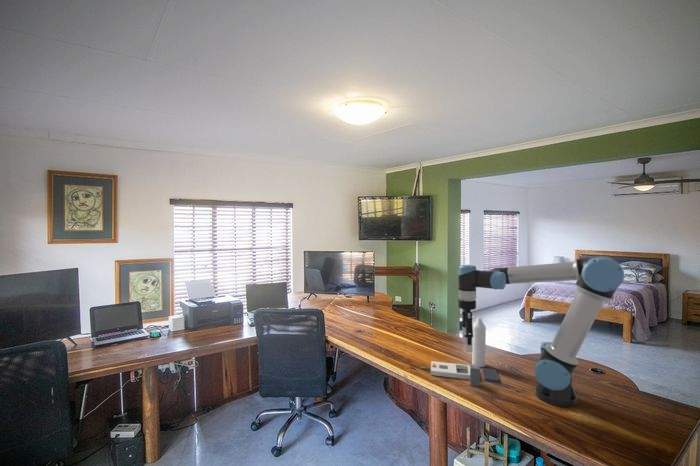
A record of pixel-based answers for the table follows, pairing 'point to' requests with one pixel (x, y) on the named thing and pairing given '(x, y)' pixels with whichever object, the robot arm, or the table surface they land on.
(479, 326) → the water bottle
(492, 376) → the phone
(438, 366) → the power strip
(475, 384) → the charger
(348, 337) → the table surface
